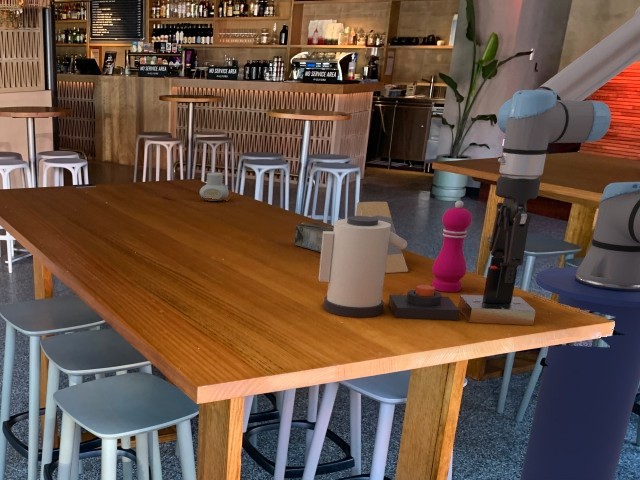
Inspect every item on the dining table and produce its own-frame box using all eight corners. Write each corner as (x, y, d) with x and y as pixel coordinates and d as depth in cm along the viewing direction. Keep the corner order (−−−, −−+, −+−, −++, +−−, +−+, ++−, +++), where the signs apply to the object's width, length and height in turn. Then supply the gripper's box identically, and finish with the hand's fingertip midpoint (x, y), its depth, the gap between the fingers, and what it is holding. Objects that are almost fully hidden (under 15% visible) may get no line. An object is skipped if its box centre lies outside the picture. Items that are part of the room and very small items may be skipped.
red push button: (431, 293, 164) (432, 285, 164) (435, 298, 161) (436, 289, 160) (413, 292, 165) (414, 284, 164) (416, 297, 162) (418, 289, 161)
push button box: (446, 306, 168) (449, 288, 167) (457, 320, 159) (460, 301, 157) (388, 304, 170) (390, 286, 168) (395, 317, 161) (398, 298, 159)
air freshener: (230, 199, 301) (231, 172, 297) (226, 203, 294) (227, 175, 290) (201, 198, 304) (202, 171, 300) (197, 201, 296) (198, 174, 293)
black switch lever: (508, 301, 161) (514, 266, 158) (511, 303, 159) (517, 268, 156) (482, 300, 162) (488, 265, 159) (485, 302, 160) (491, 267, 157)
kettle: (393, 303, 171) (405, 214, 163) (403, 319, 160) (416, 225, 152) (314, 299, 173) (322, 212, 166) (318, 315, 162) (327, 222, 155)
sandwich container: (377, 273, 195) (384, 212, 189) (350, 259, 209) (356, 202, 203) (409, 272, 196) (417, 211, 190) (380, 258, 210) (387, 201, 204)
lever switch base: (517, 310, 165) (520, 296, 164) (533, 325, 156) (536, 309, 155) (457, 308, 167) (460, 293, 166) (469, 322, 158) (471, 307, 157)
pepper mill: (442, 283, 186) (455, 196, 179) (469, 290, 181) (484, 201, 173) (422, 287, 182) (435, 199, 175) (449, 294, 177) (464, 204, 169)
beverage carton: (314, 242, 228) (316, 219, 226) (362, 256, 213) (365, 231, 210) (292, 245, 225) (294, 222, 222) (339, 259, 209) (342, 234, 207)
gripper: (485, 169, 160) (467, 280, 169) (514, 182, 143) (491, 305, 151) (524, 170, 159) (504, 281, 168) (558, 183, 142) (533, 307, 150)
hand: (498, 292), depth 160 cm, fingers open, 6 cm apart
